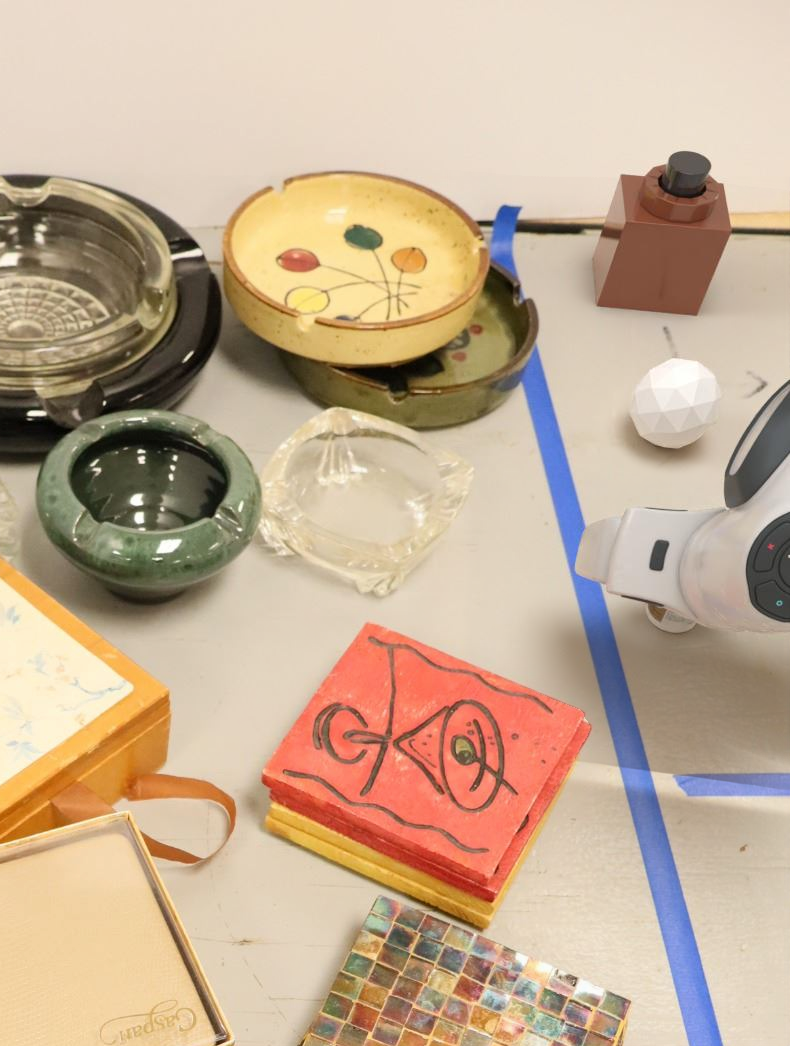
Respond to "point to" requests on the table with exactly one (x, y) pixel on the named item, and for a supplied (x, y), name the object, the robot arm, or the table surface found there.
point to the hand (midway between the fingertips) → (689, 572)
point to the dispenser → (660, 246)
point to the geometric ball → (675, 403)
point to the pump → (685, 174)
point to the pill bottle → (668, 619)
